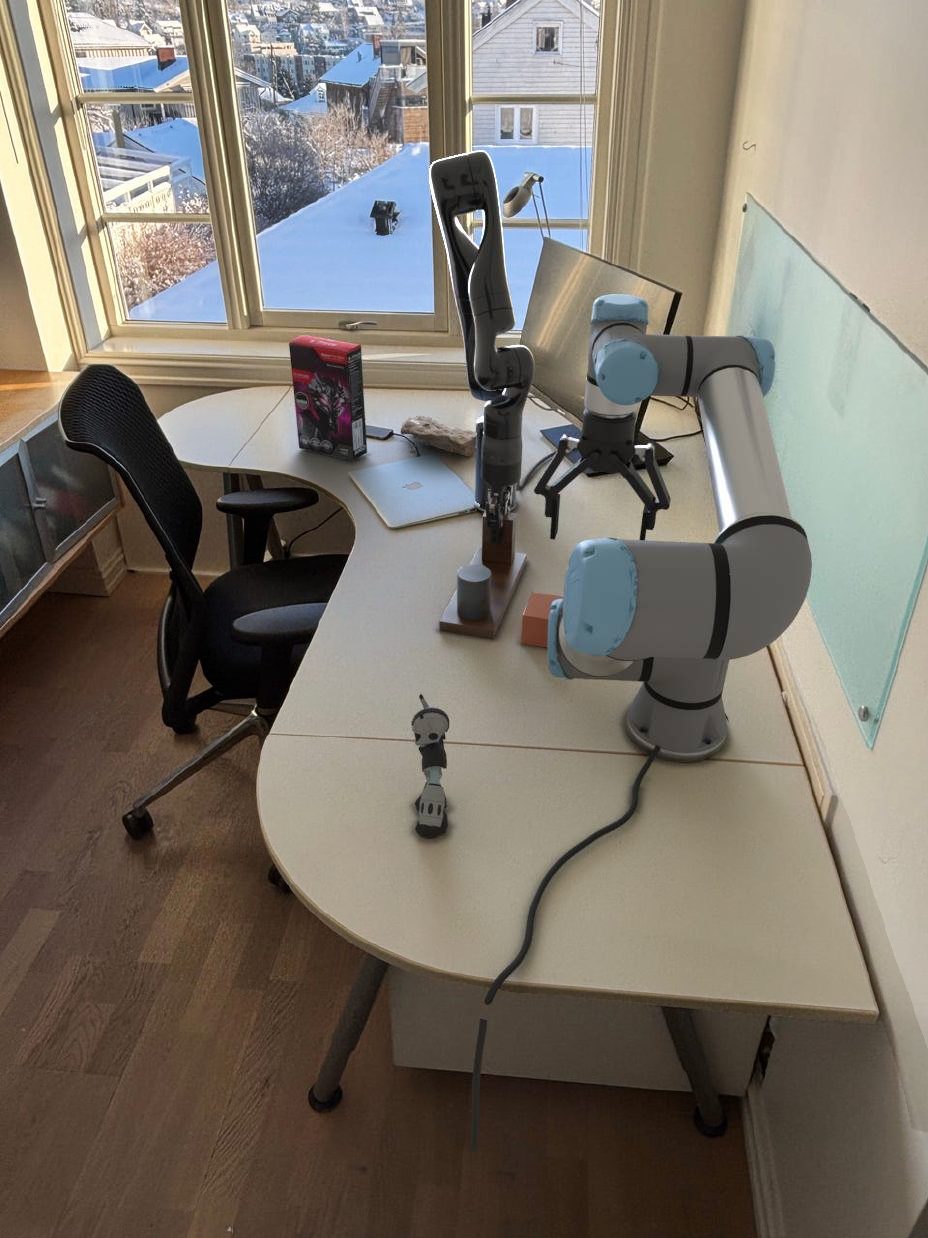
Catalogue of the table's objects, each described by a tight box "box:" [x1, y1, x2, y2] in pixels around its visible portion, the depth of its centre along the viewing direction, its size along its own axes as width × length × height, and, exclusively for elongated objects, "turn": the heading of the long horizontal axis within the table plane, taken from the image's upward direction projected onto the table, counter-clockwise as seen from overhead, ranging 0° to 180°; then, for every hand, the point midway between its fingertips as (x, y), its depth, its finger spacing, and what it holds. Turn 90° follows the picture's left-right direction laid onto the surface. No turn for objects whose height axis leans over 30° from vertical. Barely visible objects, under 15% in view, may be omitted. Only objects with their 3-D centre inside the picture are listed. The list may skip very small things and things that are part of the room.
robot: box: [410, 693, 450, 839], centre depth 122 cm, size 20×5×20 cm, turn 3°
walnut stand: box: [439, 511, 528, 640], centre depth 172 cm, size 28×10×12 cm, turn 165°
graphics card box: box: [288, 334, 368, 462], centre depth 223 cm, size 17×7×27 cm, turn 62°
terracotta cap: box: [520, 591, 563, 649], centre depth 163 cm, size 8×8×6 cm
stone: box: [400, 415, 476, 457], centre depth 232 cm, size 21×15×6 cm
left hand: (498, 536), depth 180 cm, fingers open, 4 cm apart
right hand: (597, 541), depth 143 cm, fingers open, 13 cm apart
